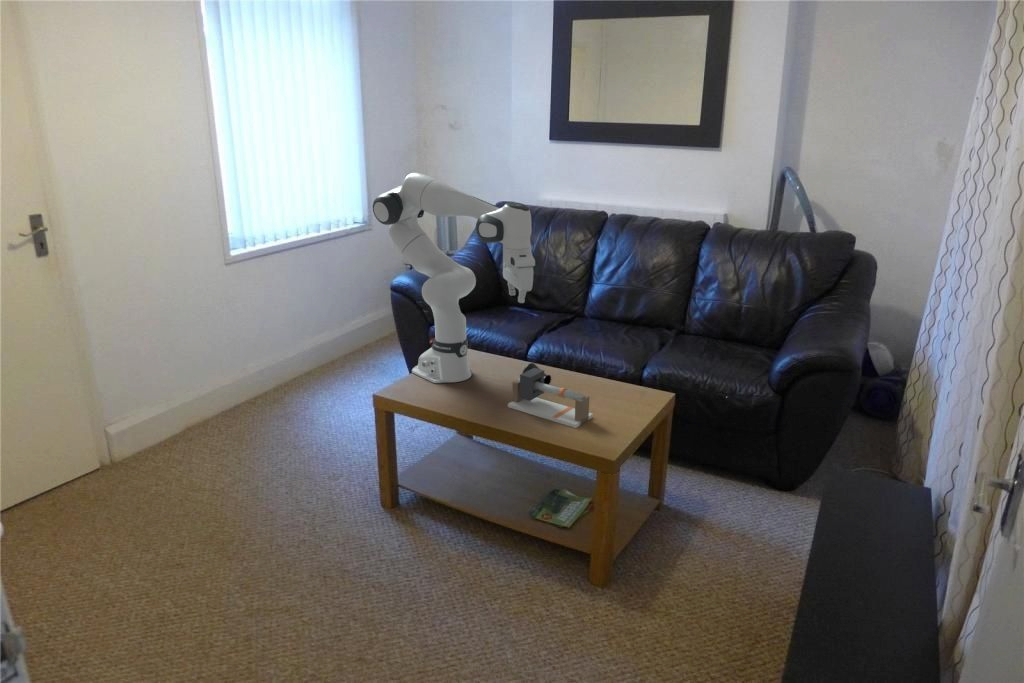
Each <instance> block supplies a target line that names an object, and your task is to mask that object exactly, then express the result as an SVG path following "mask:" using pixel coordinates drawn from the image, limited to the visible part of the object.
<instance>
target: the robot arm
mask: <svg viewBox="0 0 1024 683" xmlns="http://www.w3.org/2000/svg"><path fill="white" fill-rule="evenodd" d="M372 202H373V203H372V212H373V215H374V217H375V219H376V220H377V221H378V222H379V223H380V224H382V225H386V226H388V225H389V226H388V230H387V231H388V235H389V236H390V238H391V240H392V242H393V244H394V245H395V247H396V248H397V249H398V250H399V253H400V254H402V256H403V257H404V258H405V259H406V260H407V261H408V263H409V264H410V266H412V267H413V268H414V270H415V271H416V272H418V273H420V274H423V275H425V276H427V277H429V278H428V279H427V280H426V281H425V282H424V283H423V285H422V287H421V296H422V298H423V300H424V302H425V303H426V304H427V305H428V306H429V307H430V308H431V311H432V316H433V319H434V333H435V334H434V335H435V337H433V338H431V339H430V340H429V344H432V345H431V347H430V348H429V349H427V350H425V351H424V352H423V353H421V354H420V356H419V357H418V361H417V362H418V363H417V365H415V366H414V367H413V368H412V369H411V373H412V374H414V375H417V376H418V377H420V378H423V379H425V380H427V381H429V382H430V383H432V384H443V383H457V382H463V381H466V380H469V378H471V376H472V372H471V368H470V364H469V357H468V348H469V347H468V346H469V345H468V343H469V342H468V337H467V318H466V316H465V314H463V313H462V311H461V308H460V305H459V304H460V303H459V301H460V299H462V298H464V297H466V296H468V295H469V294H470V293H471V292H472V291H473V290H474V289H475V287H476V285H477V284H476V283H477V278H476V275H475V273H474V271H473V270H472V269H470V268H469V267H466V266H464V265H461V264H459V263H458V262H457V261H455V260H453V259H452V258H451V257H450V256H448V255H447V254H445V252H444V251H442V250H441V249H440V248H439V247H438V246H437V245H436V243H435V242H434V241H433V240H432V239H431V237H429V235H428V234H427V232H425V230H423V229H422V227H421V226H420V225H419V222H418V219H420V218H423V216H424V215H425V214H424V213H427V214H430V215H433V216H436V217H440V218H448V217H449V218H450V217H470V218H474V219H476V223H475V232H476V235H477V237H478V238H479V240H480V241H482V242H483V243H484V244H496V243H501V244H502V262H503V263H502V277H503V279H504V280H505V281H506V282H507V287H508V295H510V296H516V289H517V290H518V296H517V302H518V303H519V304H524V303H525V301H526V300H525V298H526V295H527V292H531V291H532V289H533V284H534V267H535V266H536V260H535V258H534V256H533V253H532V243H531V236H532V214H531V210H530V208H529V207H528V206H527V205H525V204H524V203H520V202H507V203H505V204H504V205H503V206H502V207H499V206H497V205H495V204H492V203H489V202H488V201H486V200H482V199H480V198H477V197H475V196H473V195H470V194H467V193H466V192H465V191H464V192H463V191H461V190H459V189H457V188H455V187H453V186H450V185H448V184H447V183H444V182H443V181H441V180H439V179H437V178H434V177H432V176H429V175H427V174H423V173H420V172H411V173H409V174H408V175H407V176H406V177H405V178H404V179H403V181H402V184H401V185H399V186H395V187H393V188H391V189H390V190H388V191H386V192H383V193H381V194H380V195H379V196H377V197H375V199H374V200H373V201H372Z"/></svg>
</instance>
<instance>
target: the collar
mask: <svg viewBox="0 0 1024 683" xmlns="http://www.w3.org/2000/svg"><path fill="white" fill-rule="evenodd" d="M522 373H523V372H522ZM522 373H521V374H519V377H520V398H522V399H525V400H529V401H530V400H532V399H534V398H536V397H537V398H539V396H541V395H544V393H545V391H541V390H538V389H534V388H533V381H537V382H540V383H544V373H545V369H541V368H540V369H537V368H533V369H531V370H529V371H527V372H525V373H523V374H522Z"/></svg>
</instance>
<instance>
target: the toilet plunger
mask: <svg viewBox="0 0 1024 683" xmlns="http://www.w3.org/2000/svg"><path fill="white" fill-rule="evenodd" d="M533 368H537V369H541V368H540V367H539V366H538V365H536V363H533V362H531V363H527V365H526V366H525V367H524V369H523V371H522V373H521V374H523V373H525V372H527V371H529V370H531V369H533ZM551 381H552V376H551V375H550V374H546V373H545V372H544V384H548V385H551Z"/></svg>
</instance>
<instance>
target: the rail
mask: <svg viewBox="0 0 1024 683" xmlns="http://www.w3.org/2000/svg"><path fill="white" fill-rule="evenodd" d="M533 388H534V389H538V390H541V391H544V393H548V394H552V395H554V396H555V395H556V396H558V397H559V398H563V399H566V398H567V399H570V400H573V401H574V402H575V404H574V405H575V406H574V407H572V406H568V405H565V404H560V403H557V402H553V401H550V400H547V399H543V398H540V397H536V398H534V399H532V400H530V401H529V400H525V399H522V398H520V376H519V377H518V378H517V379H516V380H514V381H513V382H512V395H511V396H512V399H511V401H510V402H509V403H507V407H508V408H510V409H514V410H515V411H519V412H522V413H525V414H529V415H532V416H535V417H538V418H542V419H545V420H548V421H552V422H555V423H557V424H562V425H565V426H567V427H571V428H574V429H577V428H578V427H580V426H582V425H583V424H585V423H586V422H588V421H590V419H592V418H593V417H594V416H593V413H591V412H590V396H589V395H586V394H584V393H580V392H577V391H573V390H569V389H568V388H566V387H558V386H555V385H551V384H549V385H548V384H544V383H540V382H537V381H533Z"/></svg>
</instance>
